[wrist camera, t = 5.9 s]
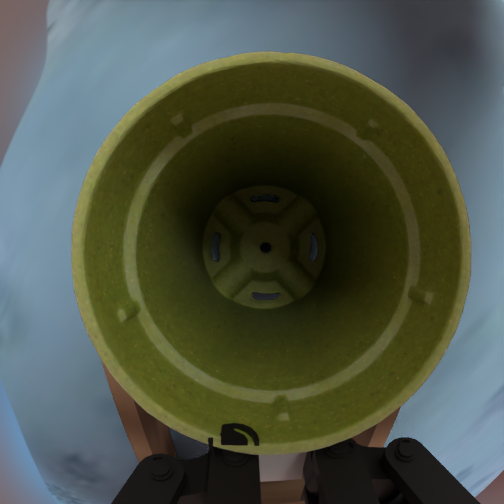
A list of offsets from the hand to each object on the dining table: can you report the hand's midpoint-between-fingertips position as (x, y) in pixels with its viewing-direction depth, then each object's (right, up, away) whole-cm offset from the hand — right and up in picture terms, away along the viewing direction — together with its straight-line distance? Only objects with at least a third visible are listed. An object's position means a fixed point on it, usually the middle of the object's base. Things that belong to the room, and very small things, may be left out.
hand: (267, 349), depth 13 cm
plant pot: (0, +5, +1) cm, 5 cm away
